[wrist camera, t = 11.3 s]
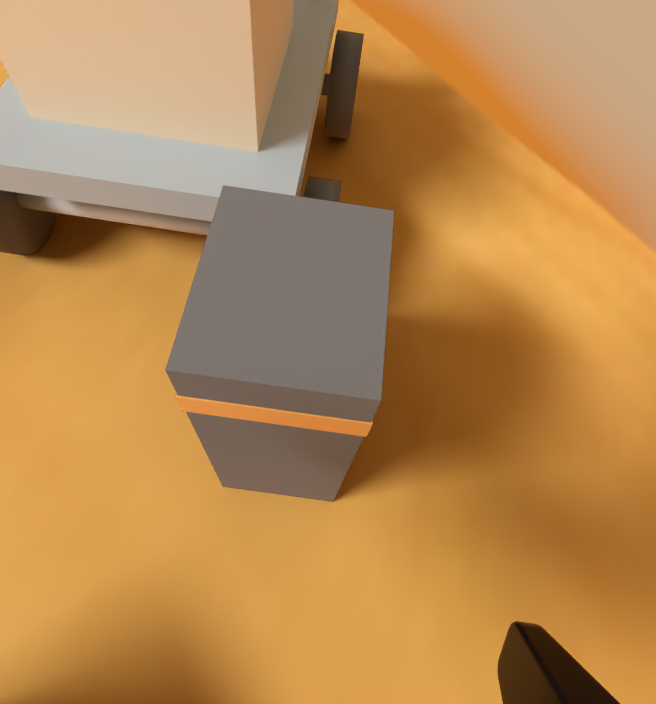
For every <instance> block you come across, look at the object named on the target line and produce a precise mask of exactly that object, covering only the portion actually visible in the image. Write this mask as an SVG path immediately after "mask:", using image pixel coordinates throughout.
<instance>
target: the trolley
mask: <svg viewBox="0 0 656 704" xmlns="http://www.w3.org/2000/svg"><path fill="white" fill-rule="evenodd" d="M337 11H338V0H0V59H1V61H2V63H3V65H4V67H5V69H6V71H7V73H8V75H9V77H8V79H7V80H6V81H5V83H4V84H3V86H2V87H1V88H0V252H4V253H11V254H18V255H28V254H31V253H33V252H35V251H37V250H38V249H40V248H41V247H42V246H43V244H44V243H45V242H46V240H47V239H48V237H49V235H50V233H51V231H52V228H53V225H54V222H55V218H56V213H60V214H67V215H74V216H80V217H87V218H94V219H101V220H107V221H114V222H121V223H127V224H134V225H141V226H148V227H154V228H161V229H168V230H174V231H181V232H188V233H194V234H201V235H208V232H209V229H210V225H211V222H212V219H213V216H214V213H215V209H216V206H217V203H218V200H219V197H220V193H221V190H222V187H223V185H226V186H233V187H239V188H246V189H253V190H259V191H266V192H273V193H280V194H286V195H293V196H300V192H301V187H302V182H303V177H304V173H305V168H306V163H307V158H308V153H309V148H310V143H311V139H312V134H313V129H314V124H315V119H316V114H317V109H318V105H319V100H320V95H321V94H322V95H328V97H327V107H326V118H325V136H330V137H337V138H343V139H349V134H350V128H351V121H352V114H353V107H354V100H355V93H356V86H357V79H358V72H359V65H360V58H361V51H362V44H363V36H364V34H361V33H354V32H348V31H342V30H338V31H337V34H336V39H335V45H334V51H333V58H332V65H331V72H330V74H325V71H326V66H327V61H328V56H329V51H330V46H331V41H332V37H333V32H334V27H335V22H336V17H337ZM341 183H342V181H336V180H329V179H322V178H316V177H309V178H308V181H307V185H306V189H305V194H304V197H307V198H313V199H320V200H327V201H334V202H339V198H340V191H341Z"/></svg>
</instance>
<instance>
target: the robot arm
mask: <svg viewBox="0 0 656 704" xmlns="http://www.w3.org/2000/svg"><path fill="white" fill-rule="evenodd" d="M498 679H499V684H500V690H501V695H502V701H503V704H620V703H619V702H618V701H617V700H616V699H615V698H614V697H613V696H612V695H611V694H610V693H609V692H608V691H607V690H606V689H605V688H604V687H603V686H602V685H601V684H600V683H599V682H598V681H597V680H596V679H595V678H594V677H593V676H591V675H590V674H589V673H588V672H587V671H586V670H585V669H584V668H583V667H582V666H581V665H580V664H579V663H578V662H577V661H576V660H575V659H574V658H573V657H572V656H571V655H570V654H569V653H568V652H567V651H566V650H565V649H564V648H563V647H562V646H561V645H560V644H559V643H558V642H557V641H556V640H555V639H554V638H553V637H552V636H551V635H550V634H549V633H548V632H547V631H546V630H545V629H543V628H542V627H541V626H539V625H537V624H532V623H525V622H518V621H516V622H513V623H512V624H511V625H510V627H509V630H508V633H507V636H506V639H505V642H504V645H503V648H502V651H501V654H500V657H499V661H498Z"/></svg>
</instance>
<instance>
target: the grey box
mask: <svg viewBox="0 0 656 704" xmlns="http://www.w3.org/2000/svg"><path fill="white" fill-rule="evenodd" d="M393 220H394V210H387V209H381V208H374V207H367V206H361V205H354V204H347V203H340V202H334V201H327V200H320V199H313V198H307V197H300V196H293V195H286V194H280V193H273V192H266V191H259V190H253V189H246V188H239V187H233V186H226V185H223V187H222V190H221V193H220V197H219V200H218V203H217V206H216V209H215V213H214V216H213V219H212V222H211V225H210V229H209V232H208V235H207V238H206V242H205V245H204V248H203V251H202V254H201V258H200V261H199V264H198V267H197V270H196V274H195V277H194V280H193V283H192V286H191V290H190V293H189V296H188V299H187V303H186V306H185V309H184V312H183V315H182V319H181V322H180V325H179V328H178V331H177V335H176V338H175V341H174V344H173V347H172V351H171V354H170V357H169V360H168V364H167V367H166V372H167V374H168V376H169V378H170V380H171V382H172V384H173V386H174V388H175V390H176V392H177V394H176V399H177V401H178V403H179V405H180V407H181V409H182V411H185V412H186V413H187V415H188V417H189V419H190V421H191V423H192V425H193V427H194V429H195V431H196V433H197V435H198V437H199V439H200V441H201V443H202V445H203V447H204V449H205V451H206V453H207V455H208V457H209V459H210V461H211V463H212V465H213V467H214V469H215V472H216V474H217V476H218V478H219V480H220V482H221V484H222V486H223V487H230V488H237V489H244V490H251V491H259V492H266V493H273V494H281V495H288V496H295V497H303V498H310V499H317V500H324V501H332V502H333V501H334V499H335V497H336V495H337V492H338V490H339V488H340V486H341V484H342V482H343V480H344V478H345V476H346V474H347V471H348V469H349V467H350V465H351V463H352V461H353V459H354V457H355V455H356V453H357V450H358V448H359V446H360V444H361V442H362V440H363V438H364V437H367V435H368V433H369V431H370V429H371V427H372V425H373V417H374V415H375V413H376V410H377V408H378V406H379V404H380V402H381V396H382V382H383V367H384V352H385V338H386V323H387V308H388V294H389V279H390V264H391V250H392V235H393Z"/></svg>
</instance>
